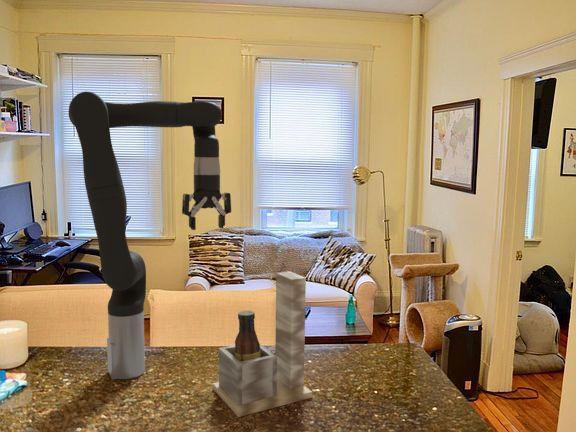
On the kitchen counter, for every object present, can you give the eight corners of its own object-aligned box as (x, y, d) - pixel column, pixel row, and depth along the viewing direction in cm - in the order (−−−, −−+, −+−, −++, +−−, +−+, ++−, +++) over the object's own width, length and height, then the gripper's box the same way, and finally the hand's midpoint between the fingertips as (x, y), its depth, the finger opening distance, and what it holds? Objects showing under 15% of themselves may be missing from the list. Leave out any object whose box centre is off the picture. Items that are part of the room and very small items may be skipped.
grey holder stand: (238, 417, 115) (238, 291, 111) (212, 388, 129) (212, 276, 125) (312, 397, 125) (314, 281, 121) (281, 373, 138) (282, 268, 135)
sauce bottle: (265, 387, 126) (266, 311, 124) (253, 398, 121) (254, 318, 118) (242, 382, 129) (242, 307, 127) (230, 392, 123) (230, 314, 121)
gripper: (224, 172, 151) (224, 225, 153) (178, 172, 144) (179, 228, 146) (234, 173, 145) (234, 229, 147) (187, 173, 138) (187, 232, 140)
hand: (207, 228), depth 146 cm, fingers open, 8 cm apart
